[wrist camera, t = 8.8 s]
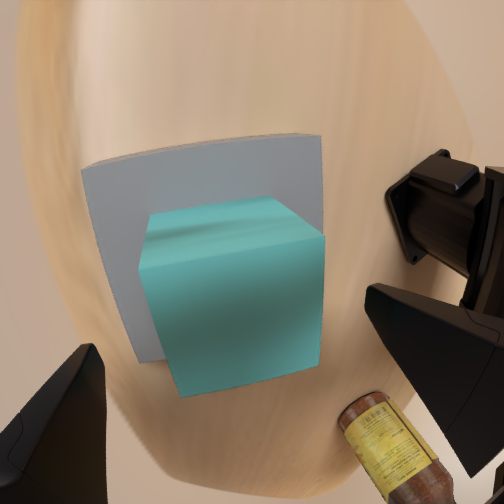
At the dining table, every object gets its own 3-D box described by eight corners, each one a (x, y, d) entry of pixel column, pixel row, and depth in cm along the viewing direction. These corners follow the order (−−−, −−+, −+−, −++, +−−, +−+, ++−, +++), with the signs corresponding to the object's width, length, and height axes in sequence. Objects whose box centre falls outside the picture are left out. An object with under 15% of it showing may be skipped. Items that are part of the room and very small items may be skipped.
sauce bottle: (325, 429, 27) (407, 575, 9) (356, 389, 25) (464, 548, 8) (368, 422, 29) (447, 545, 12) (398, 386, 28) (496, 514, 10)
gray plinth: (300, 298, 19) (319, 325, 16) (141, 329, 17) (139, 363, 14) (294, 133, 15) (320, 135, 12) (98, 161, 13) (80, 169, 10)
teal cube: (276, 296, 15) (318, 365, 10) (174, 316, 14) (181, 397, 9) (270, 195, 13) (324, 235, 8) (150, 214, 12) (138, 270, 7)
